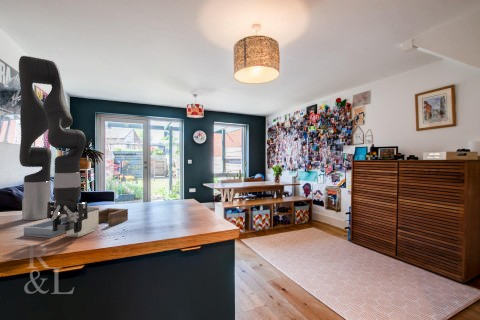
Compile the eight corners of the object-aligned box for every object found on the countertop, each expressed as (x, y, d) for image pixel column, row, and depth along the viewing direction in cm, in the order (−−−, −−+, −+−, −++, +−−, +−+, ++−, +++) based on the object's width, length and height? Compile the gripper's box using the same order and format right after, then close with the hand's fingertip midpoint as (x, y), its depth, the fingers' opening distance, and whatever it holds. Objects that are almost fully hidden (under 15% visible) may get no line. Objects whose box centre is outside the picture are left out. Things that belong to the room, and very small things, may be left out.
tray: (23, 235, 80) (23, 227, 80) (65, 222, 95) (65, 215, 95) (51, 237, 78) (51, 229, 78) (89, 224, 93) (89, 217, 93)
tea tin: (55, 240, 75) (55, 215, 75) (87, 228, 88) (87, 207, 88) (67, 241, 75) (68, 216, 74) (98, 229, 87) (98, 207, 87)
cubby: (91, 224, 93) (91, 212, 93) (108, 218, 103) (108, 207, 103) (112, 226, 92) (112, 214, 92) (127, 219, 101) (127, 209, 101)
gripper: (39, 186, 74) (38, 233, 74) (75, 187, 72) (74, 236, 72) (60, 183, 82) (60, 226, 82) (94, 184, 79) (93, 229, 80)
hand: (67, 231), depth 77 cm, fingers open, 8 cm apart
